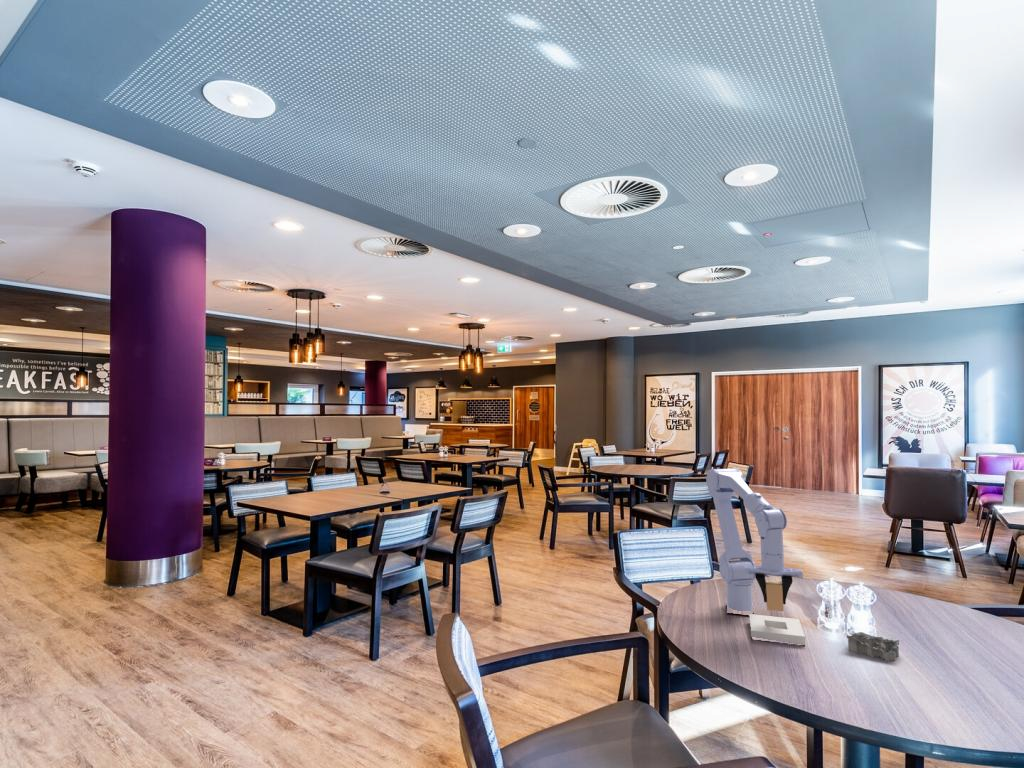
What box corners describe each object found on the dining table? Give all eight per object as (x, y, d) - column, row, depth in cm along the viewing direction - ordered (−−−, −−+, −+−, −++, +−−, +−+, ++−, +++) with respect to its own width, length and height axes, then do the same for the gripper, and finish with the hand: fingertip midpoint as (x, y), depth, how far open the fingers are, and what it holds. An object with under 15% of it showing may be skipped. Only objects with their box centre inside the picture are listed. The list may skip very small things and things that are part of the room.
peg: (766, 605, 156) (765, 580, 156) (782, 606, 154) (780, 581, 155) (767, 609, 152) (766, 584, 153) (783, 611, 151) (782, 585, 151)
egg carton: (845, 651, 142) (843, 635, 142) (855, 643, 147) (854, 627, 147) (893, 664, 134) (892, 647, 134) (902, 655, 139) (901, 638, 139)
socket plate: (749, 622, 161) (749, 614, 162) (799, 628, 157) (798, 619, 157) (751, 639, 149) (751, 630, 149) (805, 646, 145) (804, 636, 145)
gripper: (744, 554, 153) (746, 604, 152) (803, 558, 148) (805, 609, 147) (743, 548, 160) (746, 596, 159) (799, 551, 154) (802, 601, 154)
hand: (774, 602), depth 153 cm, fingers closed on peg, 4 cm apart
